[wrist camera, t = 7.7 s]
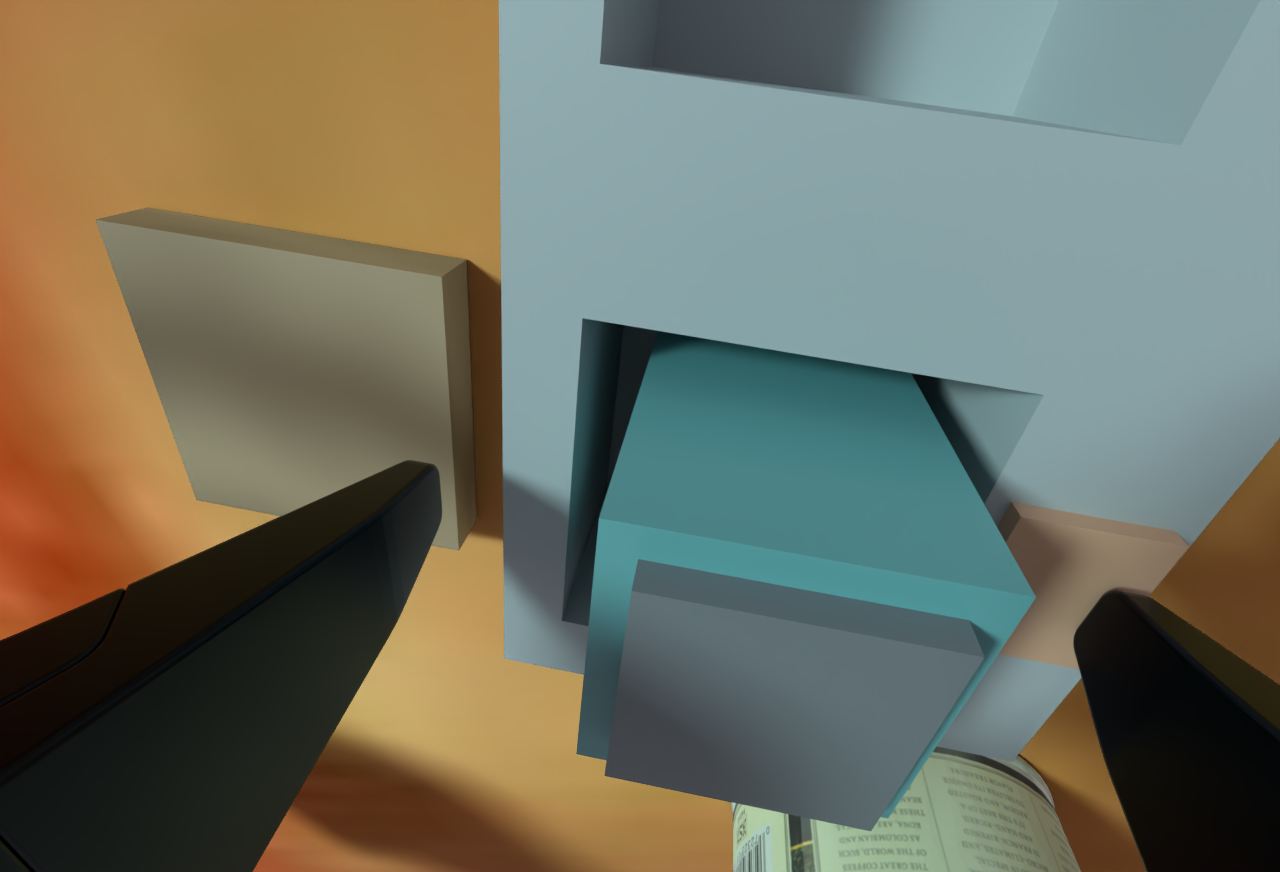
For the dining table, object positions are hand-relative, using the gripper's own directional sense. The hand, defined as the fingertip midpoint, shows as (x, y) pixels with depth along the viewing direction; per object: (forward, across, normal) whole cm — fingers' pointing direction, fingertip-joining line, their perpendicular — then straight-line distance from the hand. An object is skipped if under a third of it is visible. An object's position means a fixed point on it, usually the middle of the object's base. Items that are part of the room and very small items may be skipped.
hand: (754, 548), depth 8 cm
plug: (+4, 0, 0) cm, 4 cm away
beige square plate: (+5, +10, +2) cm, 11 cm away
